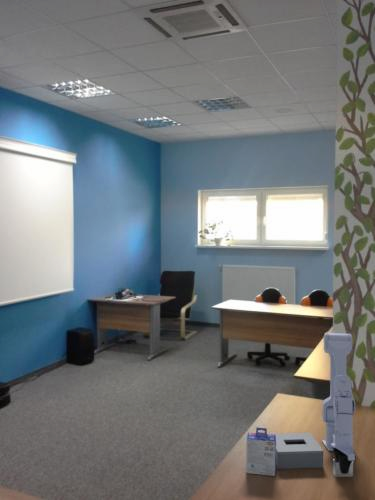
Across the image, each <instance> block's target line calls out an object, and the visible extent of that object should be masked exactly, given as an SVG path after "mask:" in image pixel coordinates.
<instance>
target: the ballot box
mask: <svg viewBox="0 0 375 500" xmlns="http://www.w3.org/2000/svg"><path fill="white" fill-rule="evenodd" d="M272 434H273V435H276V469H278V470H281V469H282V470H283V469H285V470H287V469H289V470H290V469H311V468H312V469H313V468H314V469H315V468H317V469H320V468H321V469H322V468H323V469H324V449H323V448H322V447H321V445H320V444H319V442H318V441H317V439H316V438H315V437H314V436H313V435H314V434H312V432H292V433H291V432H290V433H289V432H288V433H286V432H285V433H284V432H282V433H272Z"/></svg>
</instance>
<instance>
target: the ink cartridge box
mask: <svg viewBox="0 0 375 500" xmlns="http://www.w3.org/2000/svg"><path fill="white" fill-rule="evenodd" d="M259 431H264V432H259ZM273 434H274V433H268V428H266V427H265V428H263V427H256V428H255V432H248V433H247V435H246V474H251V475H253V474H254V475H262V476H269V477H270V476H271V477H272V476H273V477H275V476H276V470H277V466H276V435H273Z"/></svg>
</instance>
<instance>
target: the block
mask: <svg viewBox="0 0 375 500" xmlns="http://www.w3.org/2000/svg"><path fill="white" fill-rule="evenodd" d="M332 474H333V476H334V477H335V478H348V477H349V478H350V477H351V478H352V477H353V476H354V460H353V461H352V462H351V465H350V468H349V471H348V474H342V473H341V470H340V462H339V459H336V458H332Z"/></svg>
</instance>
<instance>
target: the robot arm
mask: <svg viewBox="0 0 375 500" xmlns="http://www.w3.org/2000/svg"><path fill="white" fill-rule="evenodd" d="M353 343H354V342H353V335H352V334H351V333H349V332H348V333H340V332H339V333H337V332H335V333H333V332H325V333H324V335H323V351H324V353H325V354H328V356H329V358H330V359H329V360H330V361H329V363H330V364H329V365H330V371H329V374H330V375H329V377H330V379H329V381H330V384H329V391H330V392H329V397H327V398H325V399H323V401H322V408H321V410H322V411H321V413H322V414H321V418H322V421H323V422H324V423H325V439H322V440H321V442H322V443H323V446H325V448H326V449H327V450H328V452H333V453H334V456H335V459H339V462H340V470H341V473H342V474H348V471H349V468H350V465H351V462H352V461H353V462H354V461H355V460H356V459H355V458H356V454H355V453H354V431H353V425H354V424H353V423H354V422H353V421H354V415H355V412H356V402H355V398H354V394H353V391H352V380H351V377H350V376H348V374H347V373H348V371H347V366H348V365H347V362H348V361H347V356H348V355H349V354H351V351H352V350H353V346H354V345H353Z"/></svg>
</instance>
